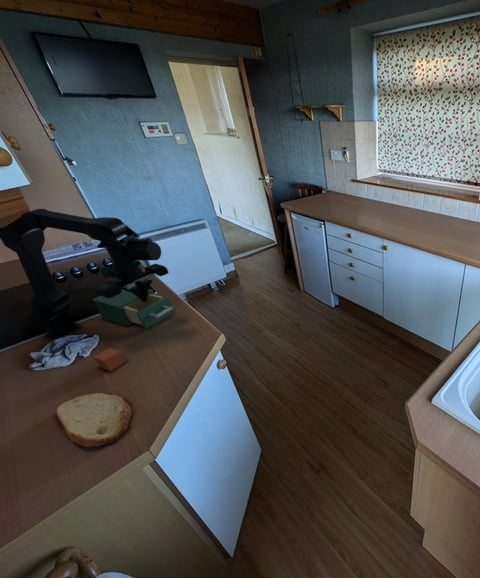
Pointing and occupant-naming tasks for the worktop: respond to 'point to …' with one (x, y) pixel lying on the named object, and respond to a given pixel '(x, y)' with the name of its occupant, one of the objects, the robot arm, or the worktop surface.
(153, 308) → the drawer
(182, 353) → the worktop surface
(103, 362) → the block
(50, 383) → the worktop surface
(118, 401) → the bread slice
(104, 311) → the cabinet
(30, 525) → the worktop surface
